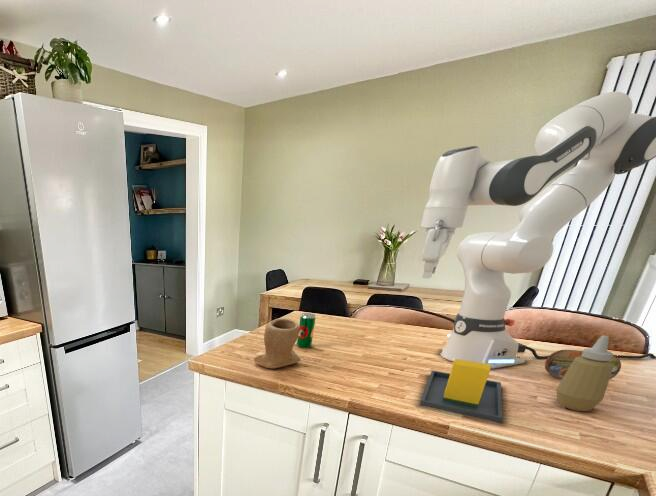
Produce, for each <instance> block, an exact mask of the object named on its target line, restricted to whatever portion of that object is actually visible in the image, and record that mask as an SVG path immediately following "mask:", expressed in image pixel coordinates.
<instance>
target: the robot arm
mask: <svg viewBox="0 0 656 496" xmlns="http://www.w3.org/2000/svg"><path fill="white" fill-rule="evenodd" d="M632 111H633V101H632V98H631V97H630V96H629V95H628V94H626V93H625V92H623V91H609V92H604V93H601V94H599V95H595V96H593V97H591V98H588V99H586V100H583V101H582V102H580V103H578V104H576V105H573V106H572V107H570V108H568V109H566V110H564V111H563V112H561V113H559V114H558V115H556V116H555V117H553V118H552V119H550V120H549V121H548V122H547V123H545V124H544V125H543V126H542V127H541V128H540V129H539V131H538V132H537V135H536V137H535V140H534V151H535V154H536V155H530V156H524V157H519V158H514V159H506V160H498V161H497V160H496V161H491V160H489V159H487V158H486V157H485V156H483V155H482V154H481V148H480V147H479V146H477V145H470V146H465V147H464V146H463V147H461V148H455V149H451V150H447V151H445V152H444V153H443V154H442V155H440V157H439V159H438V160H437V163H436V165H435V167H434V170H433V173H432V177H431V180H430V184H429V190H428V192H429V195H428V200H427V202H426V204H425V206H424V211H423V214H422V220H421V224H420V228H422V229H423V228H424V229H425V230H424V235H426V237H425V242H424V245H423V250H422V253H421V261H422V262H424V266H423V273H422V278H423V279H431V278H432V275H433V274H435V273H436V270H437V266H438V264H439V261H440V259H441V258H442V257H443V256H444V255H445V254H446V252H447V250H448V247H449V245H450V243H451V240H452V237H453V235H455V232H456V229H458V228H463V226H464V222H465V218H466V214H467V211H468V207H469V206H509V207H511V206H512V207H517V206H522V205H524V204H525V205H524V206H523V207H522V208H521V209H520V212H519V213H518V214H519V215H518V217H519V223H518V224H517V225H516V226H515V227H514V228H512V229H510V230H508V231H496V230H487V231H486V230H485V231H480V232H475V233H472V234H469V235H467V236H466V237H464V238H463V240H462V241H460V243H459V245H458V247H457V251H456V256H457V259H458V261H459V262H460V264H461V266H462V269H463V274H464V291H463V296H462V301H461V304H460V307H459V311H458V313H456V315H455V319H454V322H453V328H452V330H451V332H450V334H447V341H446V343H445V345H444V346H443V347H442V350H441V352H440V357H441V358H443V359H445V360H448V361H451V362H454V360H455V359H459V360H466V361H472V362H479V363H485V364H490V369H498V368H499V369H500V368H505V367H510V366H516V365H521V364H525V362H526V360H525V359H524V358H523V357H521V356H519V357H516V355H517V354H519V353H520V354H523V353H524V354H525V352H526V350H527V351H530V352H531V353H532V355H534V356H533V357H534V358H536V359H538V360H546V359H547V358H548V357H549V356H550V355H546V356H542V355H539V354H538V353H537V351H536V350H535V349H534V348H532V347H530V346H527V344H526V345H525V344H523V343H520V342H518V341H517V340H515V339H514V337H512V336H511V335H510V334H509V333H508V332H507V330H506V326H508V327H513V326H514V325H515V323H516V320H515V319H510V318H506V319H505V314H506V312H507V309H508V306H509V303H510V300H511V297H512V291H511V289H510V288H509V286H507V284H506V282H505V276H504V274H505V273H506V274H512V275H513V274H514V275H515V274H530V273H534V272H537V271H539V270H541V269H542V268H544V266H546V265H547V264H548V262H549V261H550V259H551V258H552V256H553V253H554V244H553V239H554V238H555V236H556V235H557V234H558V233H559V231H561V230H562V229H563V228H564V227H565V226H566V225H568V223H570V222H571V221H572V220H574V218H576V217H577V216H578V215H579V214H580V213H582V212H583V211H584V210H585V209H587V208H588V207H589V206H590V205H591V204H592V203H593V202H595V200H596V199H598V198H599V197H600V195H602V193H603V192H604V191H606V190H607V188H608V187H609V186H610V185H611V184H612V182H613V181H614V178H615V175H624V174H627V173H628V172H629V173H630V171H632V170H633V169H636V168H639V167H641V166H643V165H645V164H647V163H649V162H650V161H652V160H654V159H655V158H656V116H652V115H646V114H641V113H633V112H632ZM575 164H576V165H575ZM574 165H575V166H574ZM572 166H573V167H572ZM570 167H572V168H570ZM569 168H570V169H569ZM568 169H569V170H568ZM565 171H566V172H565ZM563 172H565V173H563ZM562 173H563V174H562ZM561 174H562V175H561ZM559 175H560V176H559ZM558 176H559V177H558ZM557 177H558V178H557ZM554 179H555V180H554ZM552 180H554V181H553V182H551V181H552ZM550 182H551V183H550ZM549 183H550V184H549ZM548 184H549V185H548ZM546 185H547V186H546ZM526 203H527V204H526ZM613 355H614V356H616V357H617V358H618V359H629V360H630V359H631V360H632V359H633V360H634V359H636V360H639V359H644V358H648V357H650V358H651V359H656V355H655V354H653V353H652V352H651V353H645V354H642V355H624V354H622V355H621V354H613ZM617 355H618V356H617ZM517 356H518V355H517ZM520 357H521V358H520ZM517 358H519V359H517Z"/></svg>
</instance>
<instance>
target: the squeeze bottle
mask: <svg viewBox="0 0 656 496" xmlns="http://www.w3.org/2000/svg"><path fill="white" fill-rule="evenodd" d="M609 339H610V336H609V335H601V336H599V338H598V339H597V341H596V342H595V343H594V344H593V345H592V347H590V348H588V347H587V348H584V349H583V350H582V351H583V353H582V355H581V357H577V358H575V359H574V360H573V362H572V364H571V365H570V367H569V369H568V370H567V372H566V374H565V375H564V377H563V379H560V382H559V384H558V386H557V387H556V390H555V391H556V403H558V405H561V406H563V407H564V408H566V409H569V410H573V411H578V412H590V411H592V410H593V409H594V408H595V407H596V406H597V405H599V403H601V402H602V401H603V400H604V398H605V395H606V392H607V389H608V385H609V382H610V380H611V379H610V376H611V373H612V369H613V366H614V365H613V364H612V363H611V362H610V361H609V360H610V359H611V357H612V355H614V353H613V352H612V351H609V350H608V348H609ZM609 379H610V380H609Z"/></svg>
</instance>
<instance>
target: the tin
mask: <svg viewBox="0 0 656 496" xmlns="http://www.w3.org/2000/svg"><path fill="white" fill-rule="evenodd" d="M583 351H584V350H578V349H559V350H557V351H554V352H552V353H550V354H549V355H548V356H549V357H548V358H547V359H545V361H544V369H545V371H546V372H547V373H548V374H549V375H550V376H552V377H553V378H555V379H558V380H562V379H563V377H564V375H565V374H566V372H567V370H568V369H569V367H570V365H571V364H572V362H573V360H574V359H575V358H577V357H581V355H582V353H583ZM614 355H615V354H613V355H612V357H611V359H610V360H609V361H610V362H611V363H612V364H613V365H614V366H613V369H612V373H611V376H610V379H609V381H610V380H612V379H613V378H615V377H616V376H617V375H618V374H619V373H620V371H621V369H622V362H621V360H620V358H617V357H616V356H614Z"/></svg>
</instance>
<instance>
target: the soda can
mask: <svg viewBox="0 0 656 496" xmlns="http://www.w3.org/2000/svg"><path fill="white" fill-rule="evenodd" d="M316 319H317V318H316V314H315V313H312V312H302V313H301V315H300V317H299V324H298V325H299V335H298V338H297V340H296V345H297V347H299V348H302V349H307V348H311V346H312V344H313V337H314V330H315V325H316Z"/></svg>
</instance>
